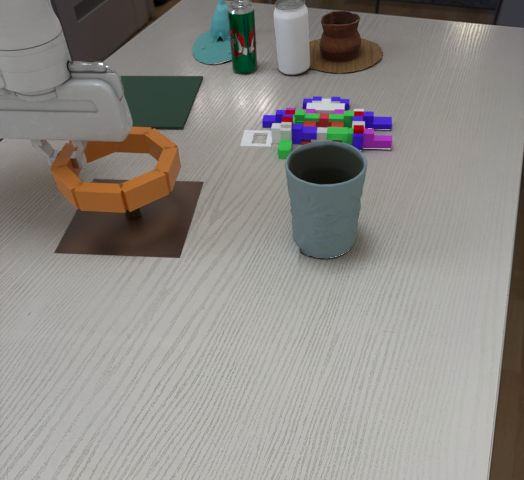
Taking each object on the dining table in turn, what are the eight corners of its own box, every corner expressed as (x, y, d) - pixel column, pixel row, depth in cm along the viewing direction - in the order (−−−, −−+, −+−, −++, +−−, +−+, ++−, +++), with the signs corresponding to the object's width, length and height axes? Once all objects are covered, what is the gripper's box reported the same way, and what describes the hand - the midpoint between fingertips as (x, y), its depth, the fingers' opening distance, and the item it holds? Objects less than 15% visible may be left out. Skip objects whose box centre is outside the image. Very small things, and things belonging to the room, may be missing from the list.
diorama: (184, 65, 114) (177, 19, 107) (202, 27, 126) (196, -16, 120) (241, 65, 112) (238, 19, 106) (253, 26, 125) (251, -17, 118)
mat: (76, 128, 99) (75, 125, 99) (107, 78, 111) (107, 75, 111) (183, 129, 97) (182, 126, 96) (203, 78, 109) (202, 75, 109)
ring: (43, 208, 71) (35, 189, 69) (83, 143, 81) (77, 124, 79) (163, 215, 69) (159, 195, 67) (188, 147, 79) (185, 128, 77)
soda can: (253, 62, 113) (249, -4, 104) (260, 72, 110) (257, 5, 101) (229, 66, 112) (223, 1, 103) (236, 76, 109) (231, 10, 100)
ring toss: (55, 257, 76) (42, 228, 72) (94, 183, 87) (85, 154, 83) (180, 262, 74) (174, 233, 70) (204, 185, 85) (200, 156, 82)
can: (276, 63, 112) (270, -2, 102) (307, 57, 112) (304, -8, 102) (280, 78, 108) (274, 12, 98) (312, 72, 108) (310, 6, 98)
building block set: (390, 103, 99) (393, 78, 96) (392, 166, 86) (396, 140, 83) (254, 101, 102) (253, 76, 99) (237, 161, 89) (235, 136, 86)
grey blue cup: (348, 269, 72) (356, 191, 62) (276, 254, 74) (273, 177, 65) (366, 223, 77) (376, 145, 68) (299, 211, 80) (299, 134, 71)
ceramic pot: (280, 61, 112) (279, 24, 107) (324, 31, 121) (325, -5, 116) (357, 81, 105) (360, 42, 100) (398, 47, 114) (403, 9, 109)
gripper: (124, 50, 65) (147, 155, 76) (-36, 48, 67) (8, 151, 78) (109, 74, 61) (135, 181, 72) (-61, 71, 63) (-10, 176, 74)
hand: (68, 166), depth 75 cm, fingers closed on ring, 2 cm apart
